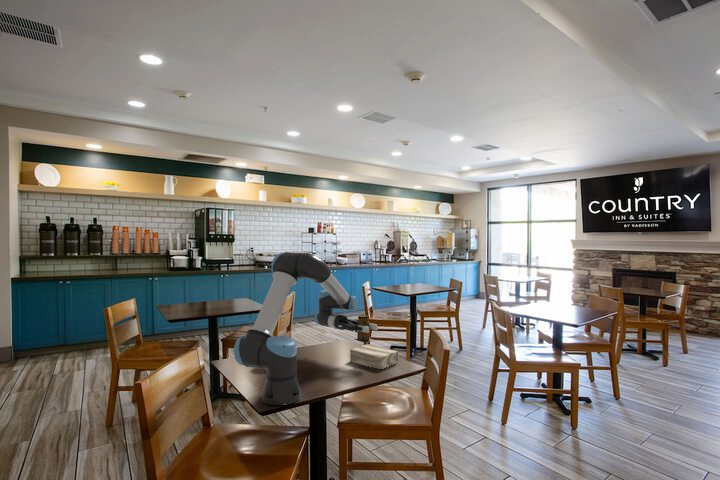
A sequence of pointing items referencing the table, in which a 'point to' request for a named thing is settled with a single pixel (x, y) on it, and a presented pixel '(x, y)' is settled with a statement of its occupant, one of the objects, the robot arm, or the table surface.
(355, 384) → the table surface
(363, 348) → the block
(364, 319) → the condiment
